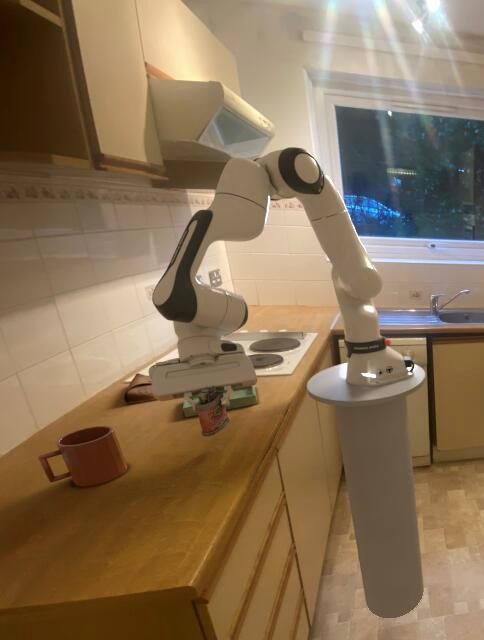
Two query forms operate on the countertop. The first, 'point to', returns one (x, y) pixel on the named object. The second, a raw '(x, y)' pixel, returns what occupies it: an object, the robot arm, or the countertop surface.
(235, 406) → the tray
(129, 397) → the sunglasses case
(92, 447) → the mug
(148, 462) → the countertop surface
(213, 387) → the lighter
